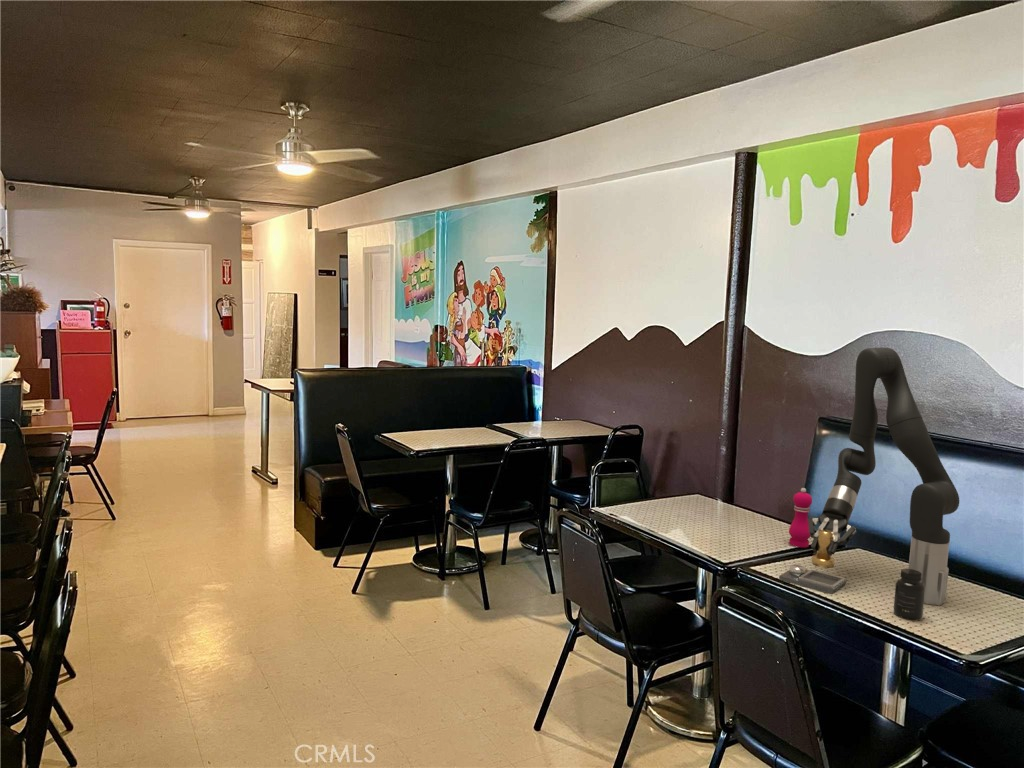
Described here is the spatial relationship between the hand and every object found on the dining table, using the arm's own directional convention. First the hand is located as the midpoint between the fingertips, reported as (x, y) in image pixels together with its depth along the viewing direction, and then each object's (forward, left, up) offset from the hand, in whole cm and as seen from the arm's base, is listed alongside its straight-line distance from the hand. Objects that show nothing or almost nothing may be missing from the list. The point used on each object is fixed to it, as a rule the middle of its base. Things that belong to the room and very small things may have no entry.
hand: (821, 551), depth 209 cm
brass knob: (0, -2, -4) cm, 5 cm away
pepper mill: (+20, -35, -10) cm, 42 cm away
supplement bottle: (-24, +4, -10) cm, 27 cm away
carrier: (+3, -2, -10) cm, 11 cm away
